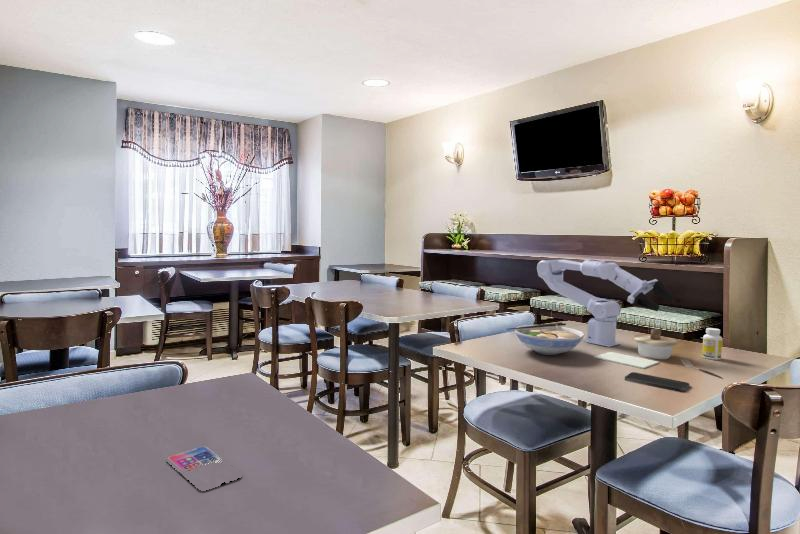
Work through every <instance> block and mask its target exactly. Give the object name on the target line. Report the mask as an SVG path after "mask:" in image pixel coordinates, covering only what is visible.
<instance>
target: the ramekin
mask: <svg viewBox="0 0 800 534" xmlns="http://www.w3.org/2000/svg"><path fill="white" fill-rule="evenodd" d="M636 343H637V352H638V354H639V355H640V357H642V358H643V357H644V358H646V359H652V360H667V359H670V357H671V355H672V352H673V349H674V346H675V345H653V344H647V343H642V342H639V341H636Z"/></svg>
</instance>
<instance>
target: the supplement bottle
mask: <svg viewBox="0 0 800 534" xmlns="http://www.w3.org/2000/svg"><path fill="white" fill-rule="evenodd" d="M705 333H706V334H704V335H702V336H703V337H702V351H701V353H702V354H701V356H702V358H704V359H706V360H713V361H714V360H721V359H722V348H723V337H722V336H721V335H720V334H721V329H719V328H715V327H714V328H713V327H706V329H705Z"/></svg>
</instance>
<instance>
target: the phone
mask: <svg viewBox="0 0 800 534" xmlns="http://www.w3.org/2000/svg"><path fill="white" fill-rule="evenodd" d="M624 380H625V381H626V382H630V383H631V382H632V383H635V384H639V385H640V384H641V385H645V386H648V387H649V386H650V387H655V388H660V389H664V390H670V391H673V390H674V392H678V391H679V392H680V393H684V392H686V391H687V390H688V389H689V388H690V383H689V382H686V381H680V380H675V379H671V378H666V377H659V376H656V375H650V374H645V373H640V372H634V371H632V372H630V373H628V374H627V375H625V376H624Z"/></svg>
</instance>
